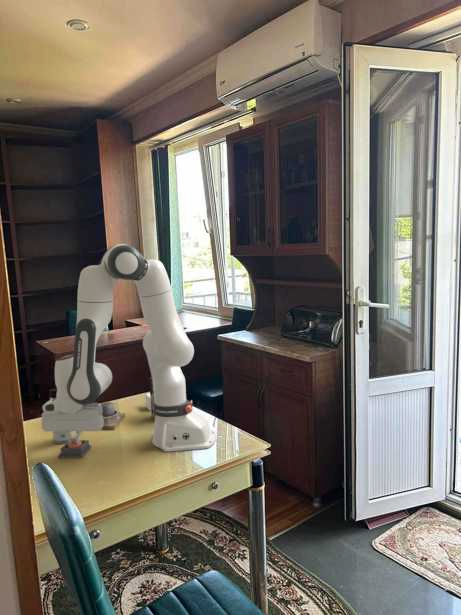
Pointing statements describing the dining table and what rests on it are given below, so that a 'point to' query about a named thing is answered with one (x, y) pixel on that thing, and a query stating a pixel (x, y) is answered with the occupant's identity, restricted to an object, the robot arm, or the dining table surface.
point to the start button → (75, 445)
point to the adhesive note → (148, 401)
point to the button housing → (75, 450)
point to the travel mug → (58, 435)
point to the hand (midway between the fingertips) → (74, 442)
